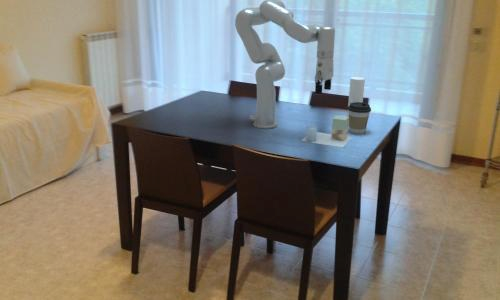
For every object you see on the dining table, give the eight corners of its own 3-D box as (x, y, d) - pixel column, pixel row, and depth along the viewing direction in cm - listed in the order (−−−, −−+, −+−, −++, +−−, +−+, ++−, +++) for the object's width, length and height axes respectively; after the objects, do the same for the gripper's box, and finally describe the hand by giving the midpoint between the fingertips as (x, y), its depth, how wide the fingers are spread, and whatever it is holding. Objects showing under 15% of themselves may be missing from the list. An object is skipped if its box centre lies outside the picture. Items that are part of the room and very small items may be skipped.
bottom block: (331, 139, 227) (332, 128, 225) (334, 135, 232) (335, 125, 230) (343, 140, 225) (344, 130, 223) (347, 137, 230) (348, 127, 228)
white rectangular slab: (300, 143, 225) (300, 140, 224) (311, 134, 238) (311, 131, 238) (342, 150, 217) (343, 147, 216) (351, 140, 230) (351, 137, 230)
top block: (332, 128, 225) (332, 118, 224) (335, 125, 230) (336, 115, 229) (344, 130, 223) (345, 120, 221) (348, 127, 228) (348, 117, 226)
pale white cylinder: (304, 140, 224) (304, 128, 222) (307, 137, 228) (308, 125, 226) (314, 142, 222) (315, 130, 220) (317, 139, 226) (318, 127, 224)
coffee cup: (369, 138, 234) (372, 108, 228) (345, 136, 235) (348, 106, 230) (368, 131, 244) (371, 102, 239) (345, 129, 246) (347, 101, 241)
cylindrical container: (351, 122, 258) (355, 76, 249) (363, 125, 253) (367, 78, 244) (343, 125, 253) (347, 78, 244) (355, 128, 248) (359, 80, 239)
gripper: (324, 57, 211) (322, 96, 217) (340, 52, 225) (337, 89, 231) (309, 56, 215) (307, 93, 221) (325, 51, 229) (323, 87, 235)
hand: (323, 91), depth 226 cm, fingers open, 9 cm apart
